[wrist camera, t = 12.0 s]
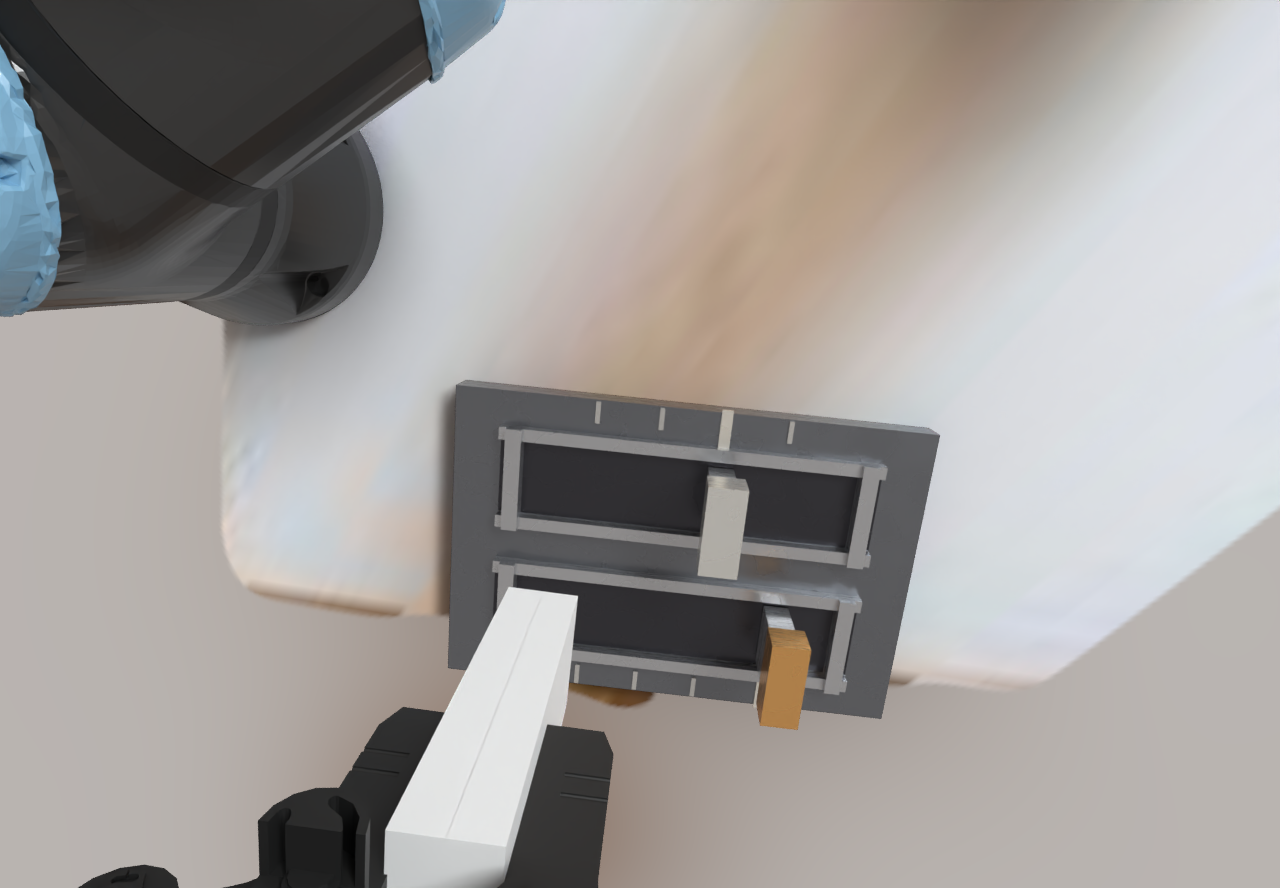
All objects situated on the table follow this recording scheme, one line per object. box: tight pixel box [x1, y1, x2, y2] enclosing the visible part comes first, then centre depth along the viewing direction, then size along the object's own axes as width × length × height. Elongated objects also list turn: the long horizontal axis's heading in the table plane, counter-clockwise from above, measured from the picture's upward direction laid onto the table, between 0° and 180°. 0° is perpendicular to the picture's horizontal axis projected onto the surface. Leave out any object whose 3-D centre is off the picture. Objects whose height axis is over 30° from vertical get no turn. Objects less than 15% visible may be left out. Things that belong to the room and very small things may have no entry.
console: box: [448, 380, 940, 719], centre depth 46 cm, size 30×20×3 cm
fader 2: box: [755, 606, 811, 730], centre depth 43 cm, size 2×5×6 cm, turn 174°
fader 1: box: [697, 467, 749, 580], centre depth 41 cm, size 2×5×6 cm, turn 175°
